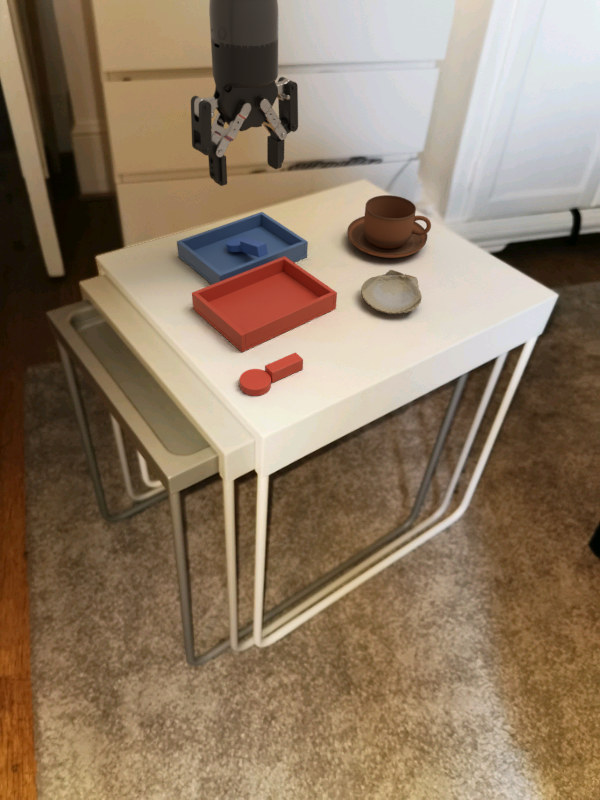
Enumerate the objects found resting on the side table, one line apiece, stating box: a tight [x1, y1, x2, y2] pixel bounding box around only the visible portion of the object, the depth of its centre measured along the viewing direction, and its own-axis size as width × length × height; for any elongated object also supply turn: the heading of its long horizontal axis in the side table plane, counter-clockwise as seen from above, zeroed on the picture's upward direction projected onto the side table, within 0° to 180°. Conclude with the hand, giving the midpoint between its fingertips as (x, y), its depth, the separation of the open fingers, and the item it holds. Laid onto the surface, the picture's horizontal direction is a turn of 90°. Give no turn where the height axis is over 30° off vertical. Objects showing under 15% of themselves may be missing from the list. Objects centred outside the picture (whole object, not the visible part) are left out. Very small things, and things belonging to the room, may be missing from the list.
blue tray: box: [176, 211, 309, 285], centre depth 93 cm, size 15×11×3 cm
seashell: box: [360, 269, 423, 315], centre depth 85 cm, size 8×3×8 cm
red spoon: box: [239, 352, 304, 397], centre depth 74 cm, size 8×4×2 cm, turn 126°
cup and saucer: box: [346, 194, 432, 259], centre depth 95 cm, size 12×12×6 cm
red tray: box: [191, 256, 338, 353], centre depth 83 cm, size 15×11×3 cm
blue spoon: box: [226, 237, 268, 257], centre depth 91 cm, size 8×4×2 cm, turn 39°
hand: (247, 174), depth 82 cm, fingers open, 8 cm apart
